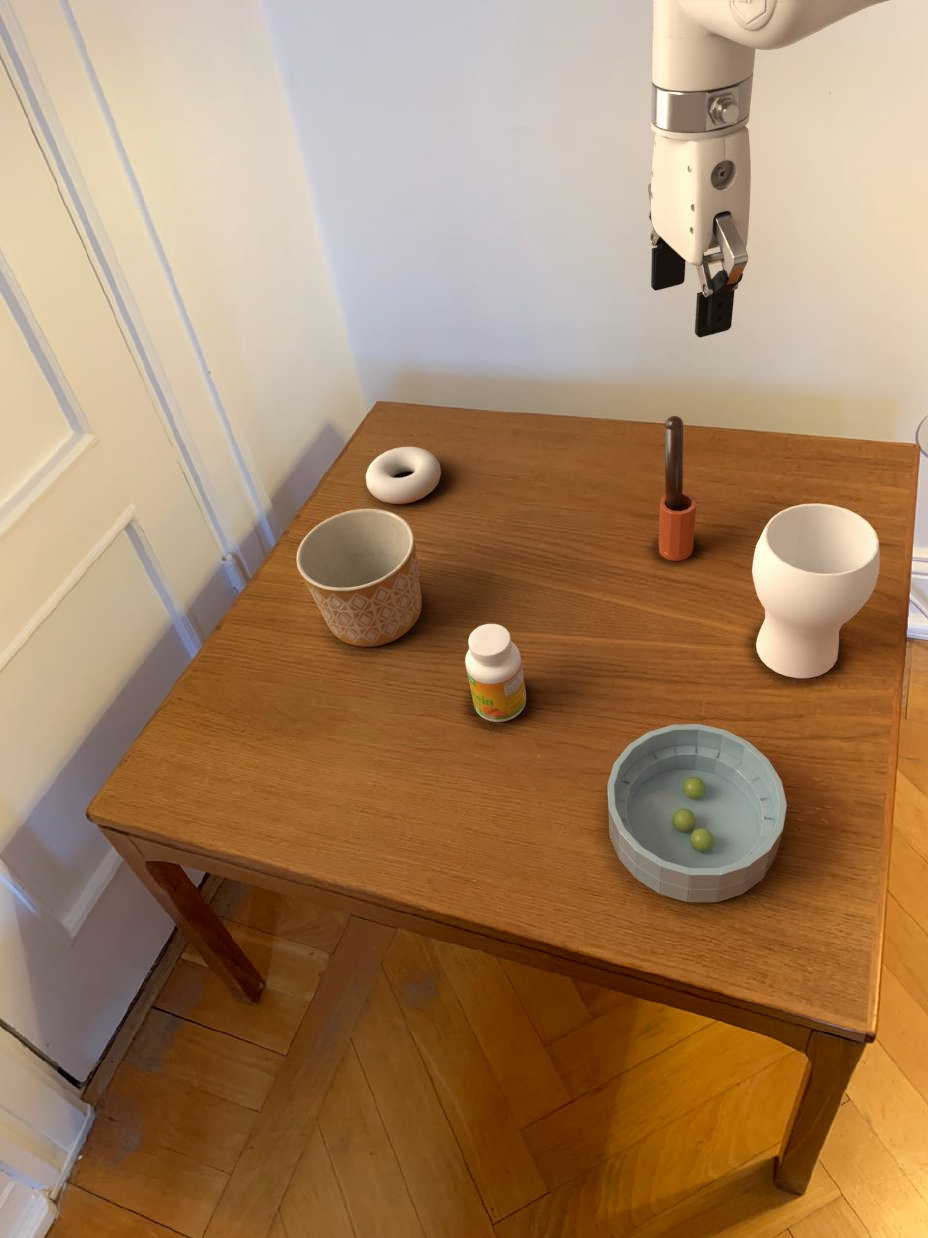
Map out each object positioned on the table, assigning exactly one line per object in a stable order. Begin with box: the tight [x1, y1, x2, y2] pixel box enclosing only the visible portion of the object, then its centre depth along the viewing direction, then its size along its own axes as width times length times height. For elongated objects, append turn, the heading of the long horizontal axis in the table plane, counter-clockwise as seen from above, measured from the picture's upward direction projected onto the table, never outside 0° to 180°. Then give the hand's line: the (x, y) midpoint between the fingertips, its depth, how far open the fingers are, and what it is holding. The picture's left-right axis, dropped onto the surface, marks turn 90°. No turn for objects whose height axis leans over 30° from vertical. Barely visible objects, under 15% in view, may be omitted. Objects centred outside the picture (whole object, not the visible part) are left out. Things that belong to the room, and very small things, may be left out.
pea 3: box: [690, 828, 715, 853], centre depth 72 cm, size 2×2×2 cm
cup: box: [751, 503, 881, 679], centre depth 81 cm, size 11×11×15 cm
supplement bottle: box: [464, 623, 527, 723], centre depth 83 cm, size 5×5×10 cm
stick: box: [664, 415, 684, 511], centre depth 92 cm, size 2×2×17 cm
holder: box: [658, 491, 698, 562], centre depth 96 cm, size 4×4×7 cm
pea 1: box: [683, 777, 706, 800], centre depth 75 cm, size 2×2×2 cm
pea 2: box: [672, 809, 696, 833], centre depth 74 cm, size 2×2×2 cm
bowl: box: [606, 723, 788, 903], centre depth 73 cm, size 14×14×6 cm
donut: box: [365, 446, 442, 505], centre depth 112 cm, size 10×4×10 cm
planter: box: [296, 508, 423, 648], centre depth 94 cm, size 13×13×10 cm
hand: (689, 308), depth 79 cm, fingers open, 9 cm apart
